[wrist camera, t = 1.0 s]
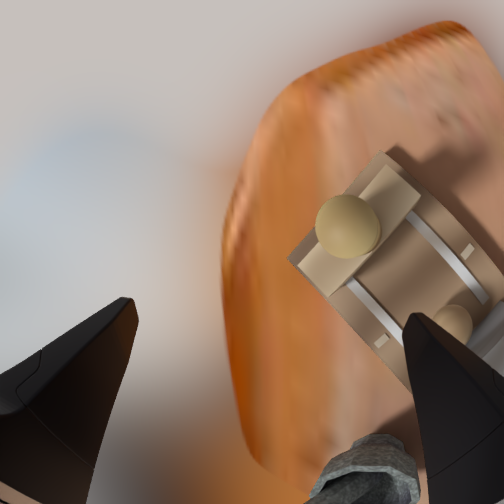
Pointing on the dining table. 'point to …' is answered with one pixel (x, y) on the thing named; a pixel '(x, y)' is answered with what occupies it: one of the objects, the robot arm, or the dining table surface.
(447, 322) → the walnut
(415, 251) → the base
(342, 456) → the mortar and pestle
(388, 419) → the dining table surface
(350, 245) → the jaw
